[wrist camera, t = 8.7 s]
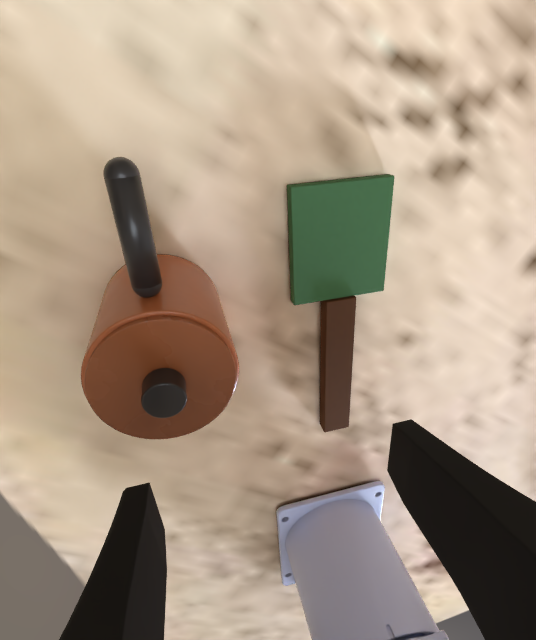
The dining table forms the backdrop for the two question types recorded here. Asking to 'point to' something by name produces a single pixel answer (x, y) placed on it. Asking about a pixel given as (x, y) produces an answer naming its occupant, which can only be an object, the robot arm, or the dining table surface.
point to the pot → (155, 332)
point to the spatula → (338, 269)
